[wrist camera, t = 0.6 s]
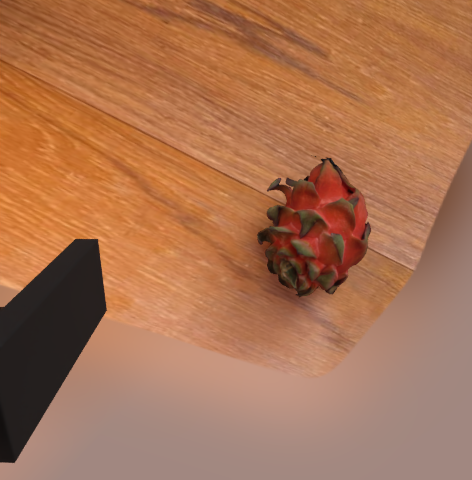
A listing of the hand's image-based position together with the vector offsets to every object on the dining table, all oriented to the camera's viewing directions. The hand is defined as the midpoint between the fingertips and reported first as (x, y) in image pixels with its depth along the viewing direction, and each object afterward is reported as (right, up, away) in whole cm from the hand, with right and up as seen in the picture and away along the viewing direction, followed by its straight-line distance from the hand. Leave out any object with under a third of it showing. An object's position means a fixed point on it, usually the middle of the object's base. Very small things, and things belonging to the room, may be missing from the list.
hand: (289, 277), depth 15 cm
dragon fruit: (+4, +2, +24) cm, 25 cm away
